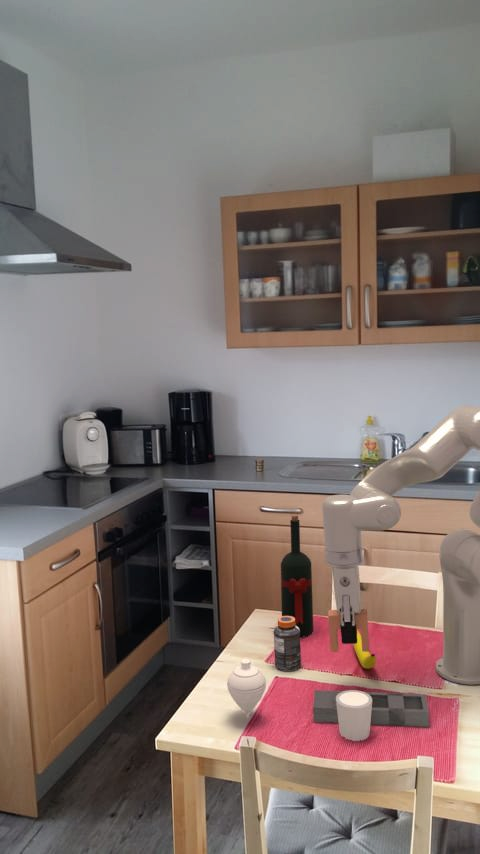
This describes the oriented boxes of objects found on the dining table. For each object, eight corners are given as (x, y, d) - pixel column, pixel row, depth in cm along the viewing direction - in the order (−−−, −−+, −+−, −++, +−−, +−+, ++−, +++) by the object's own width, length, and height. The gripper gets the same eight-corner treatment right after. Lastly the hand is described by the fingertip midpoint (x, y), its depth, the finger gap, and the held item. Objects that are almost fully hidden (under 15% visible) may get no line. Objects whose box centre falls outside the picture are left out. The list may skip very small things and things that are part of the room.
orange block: (369, 645, 159) (366, 609, 158) (369, 651, 156) (367, 614, 155) (331, 645, 161) (328, 610, 159) (330, 652, 158) (328, 615, 156)
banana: (360, 644, 181) (360, 619, 180) (380, 681, 162) (380, 654, 161) (348, 645, 181) (348, 620, 180) (367, 682, 162) (366, 654, 161)
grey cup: (332, 724, 146) (332, 690, 145) (367, 721, 147) (367, 688, 146) (340, 744, 139) (339, 709, 138) (377, 741, 140) (376, 706, 139)
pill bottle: (301, 660, 174) (300, 613, 172) (300, 672, 168) (299, 623, 166) (275, 660, 175) (274, 613, 173) (274, 671, 169) (272, 623, 167)
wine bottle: (283, 642, 184) (280, 522, 179) (281, 625, 194) (277, 512, 189) (316, 641, 184) (313, 521, 179) (311, 624, 194) (309, 510, 190)
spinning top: (254, 731, 144) (252, 672, 143) (221, 721, 149) (218, 664, 147) (274, 713, 151) (272, 656, 149) (241, 704, 155) (239, 649, 153)
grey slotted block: (425, 708, 151) (425, 694, 150) (429, 727, 144) (429, 712, 143) (315, 703, 154) (314, 690, 154) (313, 721, 147) (313, 707, 147)
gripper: (362, 568, 147) (368, 656, 150) (361, 542, 163) (367, 622, 166) (324, 569, 148) (330, 657, 151) (327, 543, 164) (332, 623, 167)
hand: (349, 638), depth 158 cm, fingers closed on orange block, 3 cm apart
